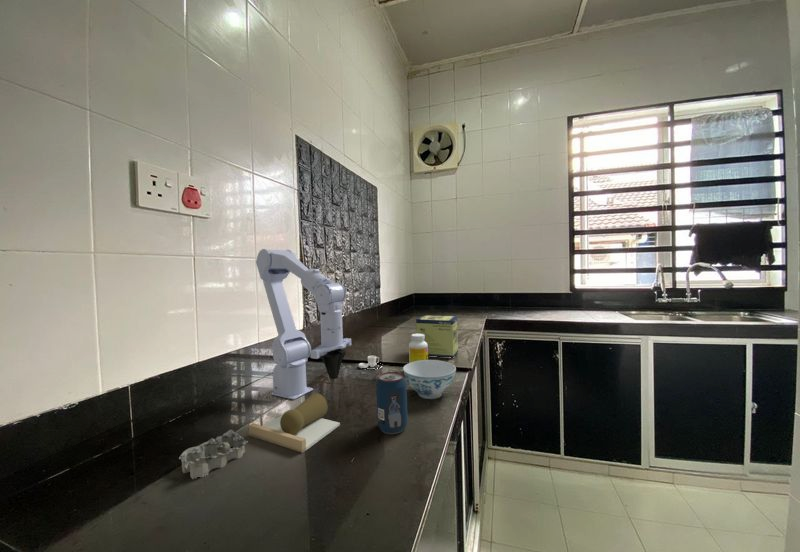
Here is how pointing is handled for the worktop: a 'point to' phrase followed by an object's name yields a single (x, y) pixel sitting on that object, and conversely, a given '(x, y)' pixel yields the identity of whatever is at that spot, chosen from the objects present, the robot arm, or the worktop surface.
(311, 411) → the cork
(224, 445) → the egg carton
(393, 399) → the soda can
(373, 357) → the teacup and saucer
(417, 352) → the supplement bottle
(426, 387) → the chinaware
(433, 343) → the protein box
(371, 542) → the worktop surface
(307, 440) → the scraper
